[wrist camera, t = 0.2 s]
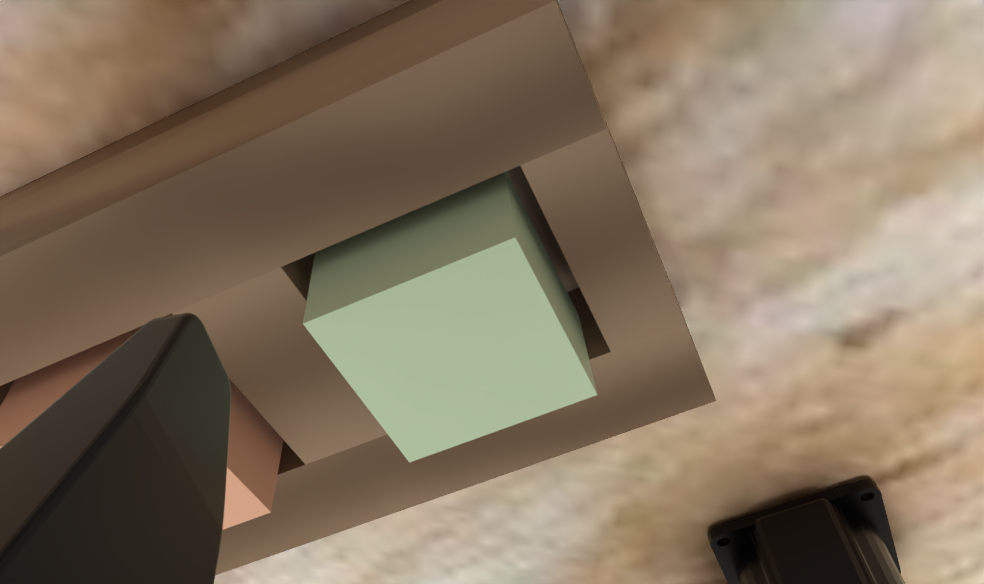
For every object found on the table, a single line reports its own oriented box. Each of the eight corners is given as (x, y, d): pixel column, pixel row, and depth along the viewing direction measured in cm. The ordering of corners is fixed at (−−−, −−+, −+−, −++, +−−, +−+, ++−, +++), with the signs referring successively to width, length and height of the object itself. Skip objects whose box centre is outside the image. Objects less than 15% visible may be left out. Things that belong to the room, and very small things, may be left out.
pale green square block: (579, 316, 23) (597, 395, 20) (410, 380, 24) (409, 462, 21) (504, 166, 20) (515, 237, 18) (316, 245, 21) (302, 323, 19)
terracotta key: (285, 427, 25) (270, 512, 22) (140, 483, 26) (111, 569, 23) (178, 304, 22) (148, 386, 19) (18, 372, 23) (-28, 458, 20)
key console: (680, 309, 27) (716, 400, 23) (-38, 577, 32) (-88, 680, 29) (533, -58, 20) (555, 0, 17) (-348, 363, 25) (-458, 467, 22)
